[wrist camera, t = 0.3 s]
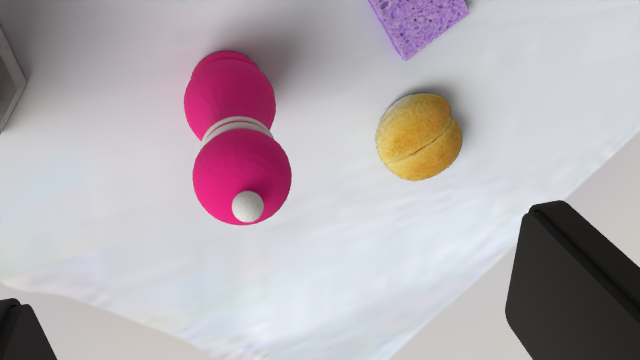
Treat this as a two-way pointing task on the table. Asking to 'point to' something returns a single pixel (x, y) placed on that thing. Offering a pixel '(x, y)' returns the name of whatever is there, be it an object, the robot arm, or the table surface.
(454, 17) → the sponges
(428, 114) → the bread roll
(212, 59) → the pepper mill
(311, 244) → the table surface
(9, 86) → the mortar and pestle
